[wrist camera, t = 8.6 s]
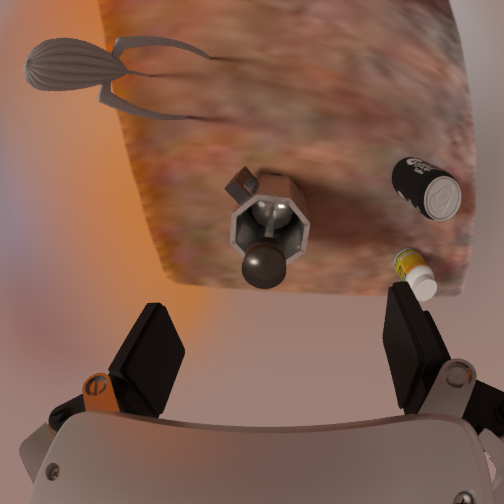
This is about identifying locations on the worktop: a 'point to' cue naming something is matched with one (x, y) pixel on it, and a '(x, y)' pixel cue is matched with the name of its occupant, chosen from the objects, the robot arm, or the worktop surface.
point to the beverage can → (427, 188)
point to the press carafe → (275, 191)
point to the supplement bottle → (415, 273)
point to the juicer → (92, 68)
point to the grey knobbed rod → (267, 246)
